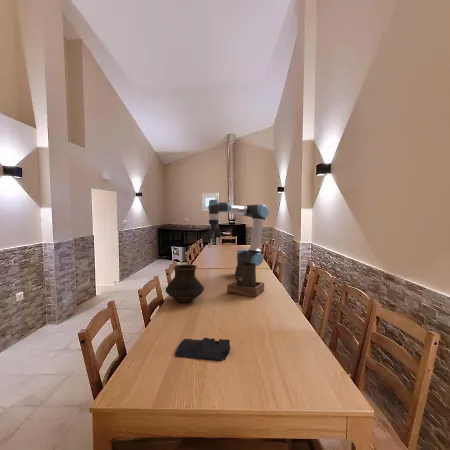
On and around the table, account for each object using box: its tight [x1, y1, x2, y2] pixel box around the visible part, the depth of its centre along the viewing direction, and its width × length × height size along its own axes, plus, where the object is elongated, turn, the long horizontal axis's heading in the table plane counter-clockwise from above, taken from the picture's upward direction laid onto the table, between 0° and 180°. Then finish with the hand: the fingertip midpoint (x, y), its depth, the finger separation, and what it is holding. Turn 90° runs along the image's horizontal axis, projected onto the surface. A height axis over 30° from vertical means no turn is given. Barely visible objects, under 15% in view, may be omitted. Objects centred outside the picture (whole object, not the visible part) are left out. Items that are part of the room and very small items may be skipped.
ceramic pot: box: [165, 264, 205, 303], centre depth 185 cm, size 24×24×22 cm
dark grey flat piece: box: [174, 337, 231, 362], centre depth 119 cm, size 15×22×5 cm
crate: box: [226, 279, 265, 298], centre depth 205 cm, size 17×21×6 cm
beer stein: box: [234, 263, 257, 288], centre depth 203 cm, size 15×11×20 cm
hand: (213, 246), depth 224 cm, fingers open, 13 cm apart
